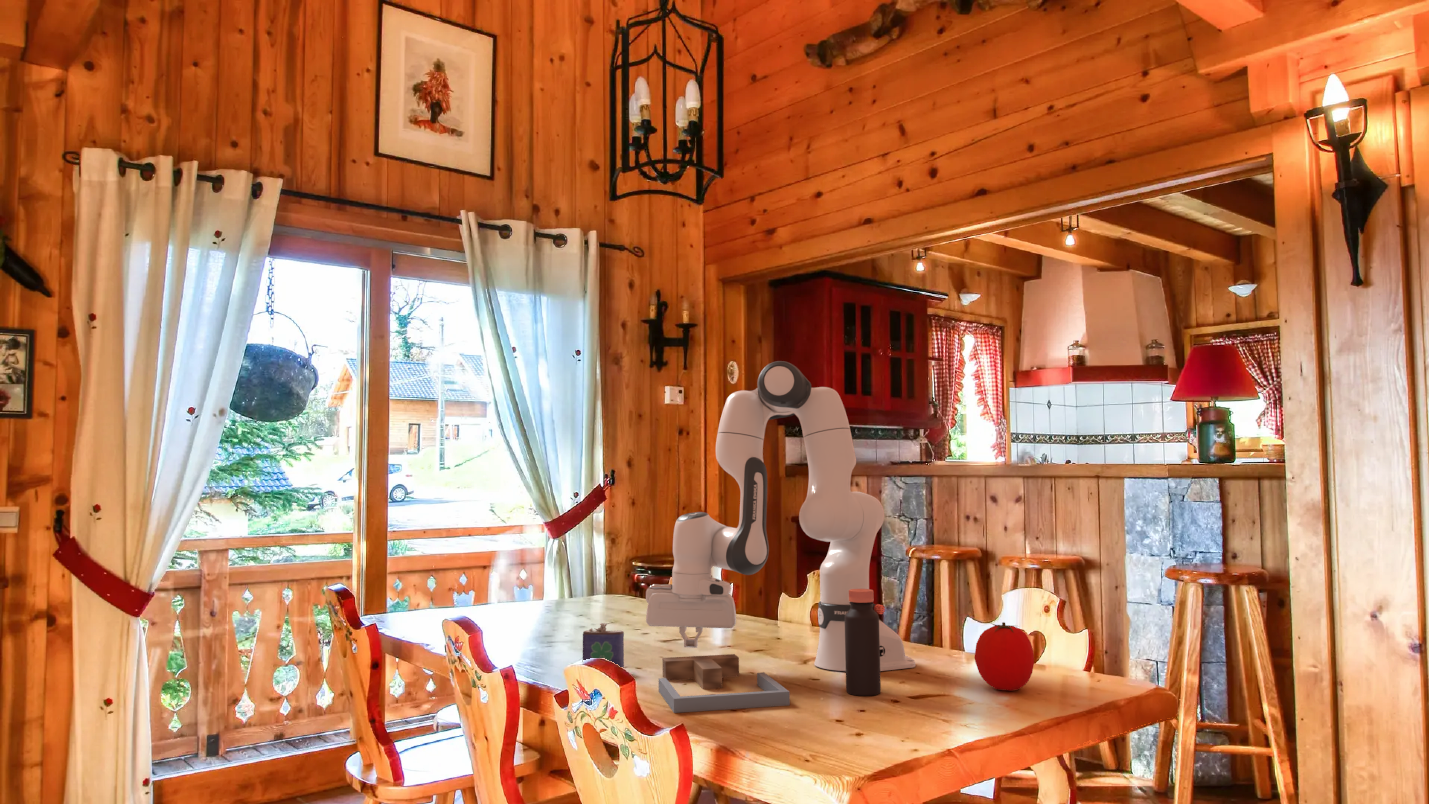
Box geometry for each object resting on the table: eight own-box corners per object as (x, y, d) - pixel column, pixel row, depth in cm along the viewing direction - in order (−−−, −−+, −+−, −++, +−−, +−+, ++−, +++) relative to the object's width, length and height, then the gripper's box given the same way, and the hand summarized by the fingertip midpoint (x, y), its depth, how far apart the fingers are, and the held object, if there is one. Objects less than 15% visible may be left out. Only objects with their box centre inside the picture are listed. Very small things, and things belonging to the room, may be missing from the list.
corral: (764, 684, 193) (764, 672, 193) (789, 705, 176) (789, 691, 176) (658, 691, 188) (658, 678, 189) (673, 712, 171) (673, 698, 171)
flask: (624, 670, 209) (624, 621, 210) (622, 673, 206) (622, 623, 207) (583, 670, 210) (583, 622, 210) (581, 673, 207) (580, 624, 207)
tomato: (1050, 691, 184) (1047, 623, 185) (1006, 699, 178) (1004, 628, 179) (1004, 680, 194) (1002, 616, 195) (961, 688, 188) (959, 621, 189)
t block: (734, 672, 206) (734, 654, 206) (750, 686, 192) (750, 666, 192) (662, 676, 202) (662, 657, 203) (673, 691, 189) (673, 670, 189)
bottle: (840, 690, 187) (838, 588, 189) (872, 687, 189) (869, 587, 191) (854, 697, 181) (851, 592, 183) (886, 695, 183) (884, 591, 184)
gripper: (643, 585, 209) (642, 648, 208) (735, 587, 207) (734, 651, 207) (648, 582, 216) (647, 643, 215) (737, 584, 214) (736, 645, 213)
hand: (690, 647), depth 211 cm, fingers closed
